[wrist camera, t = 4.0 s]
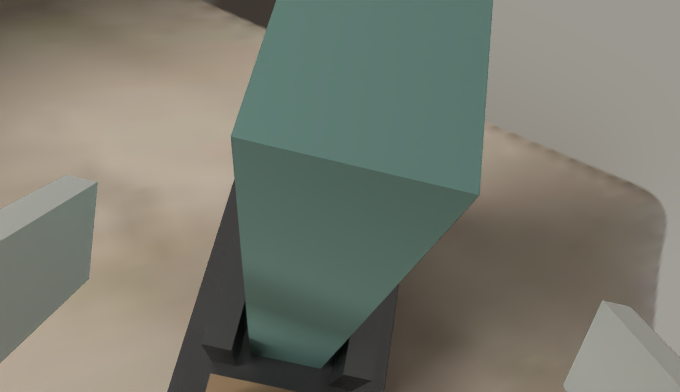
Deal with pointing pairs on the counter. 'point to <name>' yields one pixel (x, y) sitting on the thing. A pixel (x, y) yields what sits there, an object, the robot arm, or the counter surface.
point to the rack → (233, 340)
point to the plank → (353, 159)
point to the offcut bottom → (237, 385)
